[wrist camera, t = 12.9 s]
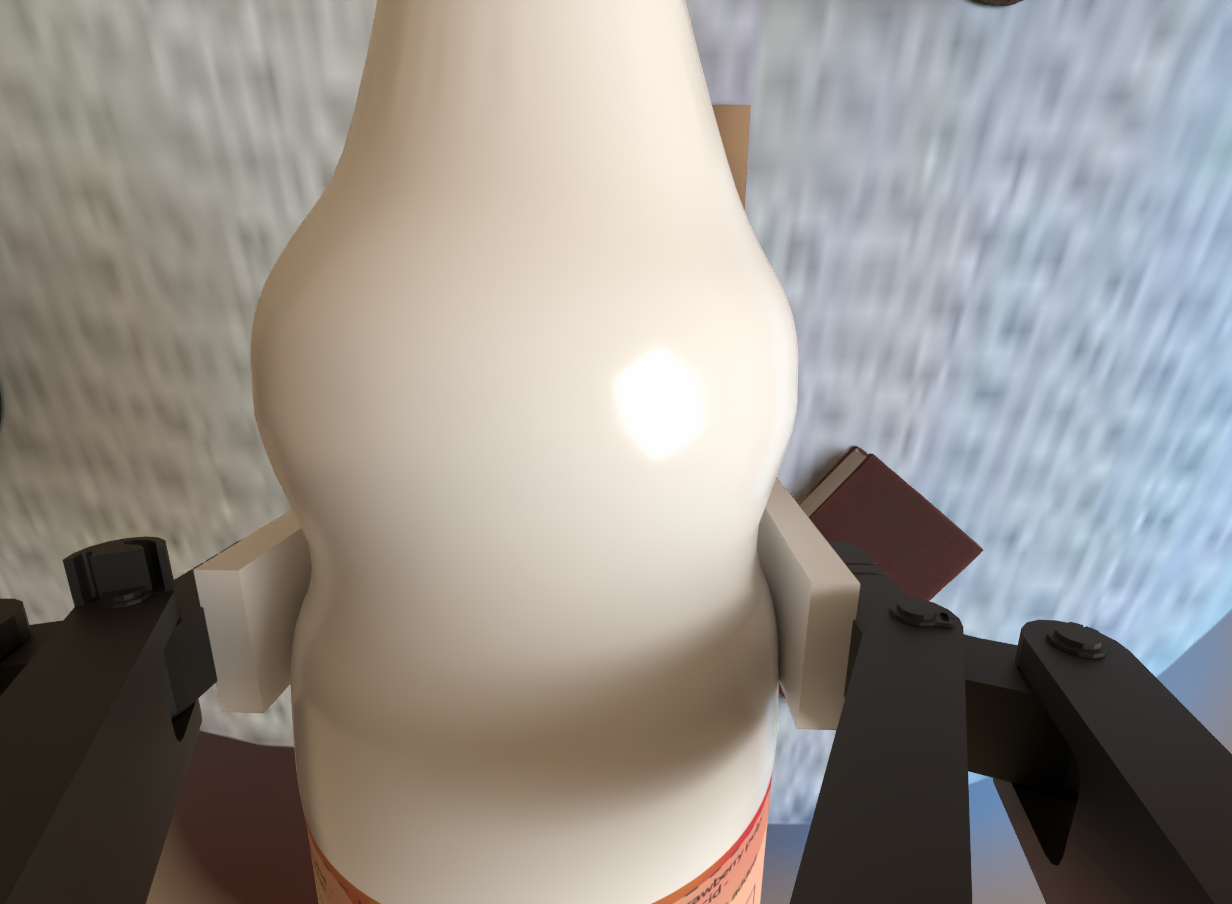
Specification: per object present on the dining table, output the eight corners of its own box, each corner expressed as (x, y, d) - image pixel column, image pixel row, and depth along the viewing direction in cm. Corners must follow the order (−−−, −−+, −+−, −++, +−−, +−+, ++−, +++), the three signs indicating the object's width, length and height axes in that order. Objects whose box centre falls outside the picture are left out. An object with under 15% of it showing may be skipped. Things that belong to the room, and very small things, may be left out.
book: (967, 537, 47) (990, 554, 43) (799, 694, 51) (810, 720, 48) (854, 441, 45) (871, 451, 42) (691, 611, 49) (695, 632, 46)
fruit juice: (283, 1170, 14) (-28, -353, 7) (535, 862, 22) (507, -7, 15) (609, 1637, 9) (656, -1827, 2) (785, 1027, 17) (920, -155, 10)
